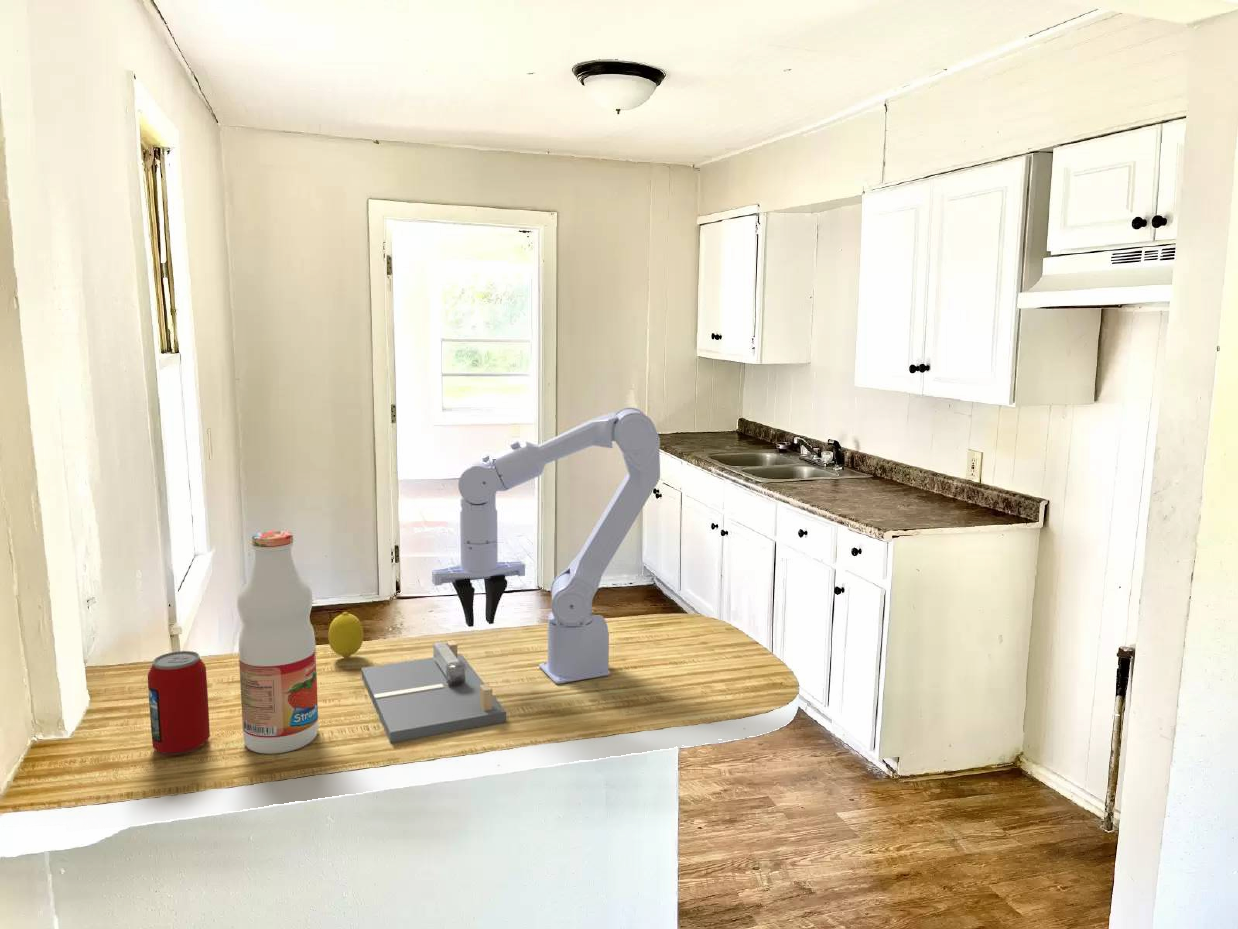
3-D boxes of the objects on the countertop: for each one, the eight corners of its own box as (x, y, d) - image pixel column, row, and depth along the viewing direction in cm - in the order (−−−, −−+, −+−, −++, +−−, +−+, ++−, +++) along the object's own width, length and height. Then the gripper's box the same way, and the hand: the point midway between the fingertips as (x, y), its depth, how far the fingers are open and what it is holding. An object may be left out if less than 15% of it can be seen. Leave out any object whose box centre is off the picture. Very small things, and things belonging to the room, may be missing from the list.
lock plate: (461, 662, 143) (460, 636, 142) (506, 721, 121) (505, 691, 121) (361, 677, 136) (360, 649, 135) (390, 743, 114) (389, 711, 114)
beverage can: (166, 734, 116) (160, 649, 114) (218, 733, 116) (213, 648, 115) (143, 759, 109) (136, 669, 107) (198, 758, 110) (192, 668, 108)
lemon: (353, 666, 140) (352, 619, 139) (322, 663, 141) (320, 616, 140) (370, 653, 146) (368, 608, 144) (340, 651, 147) (338, 605, 145)
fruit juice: (251, 726, 119) (240, 527, 114) (322, 720, 121) (315, 525, 116) (236, 759, 110) (224, 544, 105) (314, 752, 112) (305, 542, 107)
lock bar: (467, 683, 129) (467, 667, 129) (449, 686, 128) (448, 670, 128) (447, 656, 140) (447, 641, 140) (430, 658, 139) (430, 643, 138)
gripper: (515, 530, 141) (515, 610, 143) (426, 538, 135) (428, 621, 137) (529, 540, 135) (529, 623, 137) (437, 548, 129) (439, 635, 131)
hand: (479, 623), depth 137 cm, fingers open, 3 cm apart
